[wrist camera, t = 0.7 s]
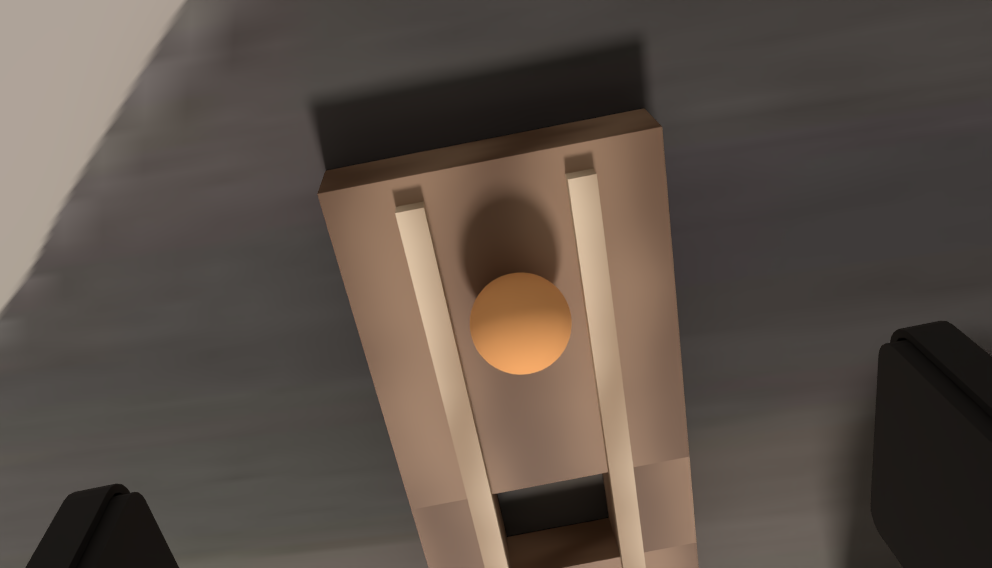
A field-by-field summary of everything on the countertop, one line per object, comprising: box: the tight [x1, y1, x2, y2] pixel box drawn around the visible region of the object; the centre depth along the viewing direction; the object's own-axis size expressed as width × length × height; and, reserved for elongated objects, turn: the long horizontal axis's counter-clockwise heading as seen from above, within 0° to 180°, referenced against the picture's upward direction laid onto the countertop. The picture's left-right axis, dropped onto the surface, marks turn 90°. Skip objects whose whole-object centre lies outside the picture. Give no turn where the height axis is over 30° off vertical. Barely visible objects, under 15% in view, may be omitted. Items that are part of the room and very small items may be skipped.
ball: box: [470, 272, 572, 375], centre depth 28 cm, size 4×4×4 cm
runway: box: [318, 108, 698, 568], centre depth 34 cm, size 12×24×3 cm, turn 10°
